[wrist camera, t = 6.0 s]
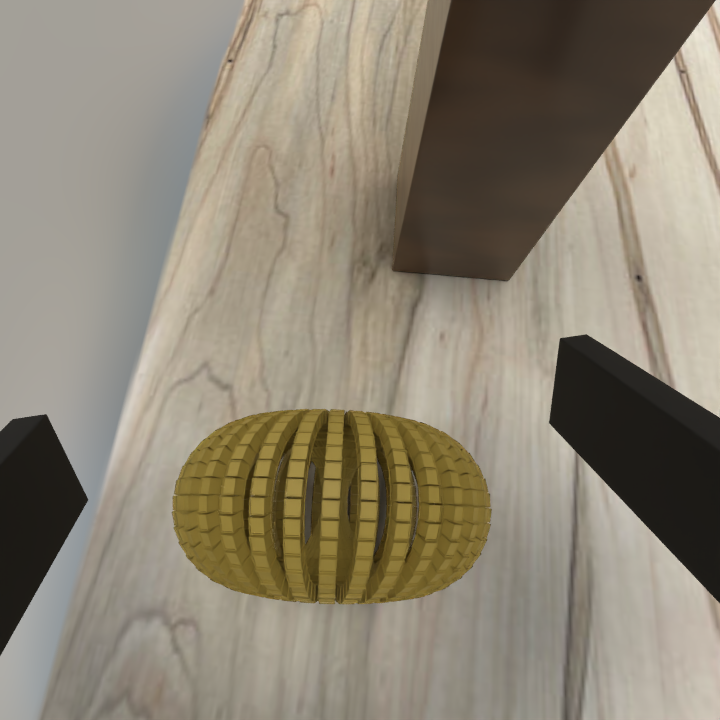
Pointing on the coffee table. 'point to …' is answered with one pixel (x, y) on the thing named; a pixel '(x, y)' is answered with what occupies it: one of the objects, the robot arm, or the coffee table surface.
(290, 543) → the sculpture
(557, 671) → the coffee table surface
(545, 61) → the stand post
